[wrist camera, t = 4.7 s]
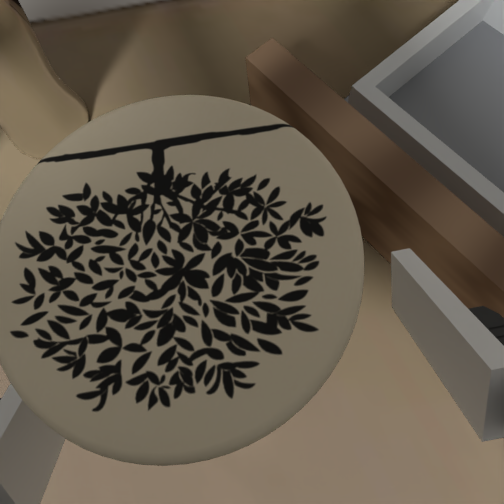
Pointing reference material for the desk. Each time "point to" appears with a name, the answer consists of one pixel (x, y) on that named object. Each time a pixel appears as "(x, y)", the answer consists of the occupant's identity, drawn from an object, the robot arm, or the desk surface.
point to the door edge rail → (383, 181)
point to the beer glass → (32, 89)
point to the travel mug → (177, 280)
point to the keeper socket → (448, 103)
